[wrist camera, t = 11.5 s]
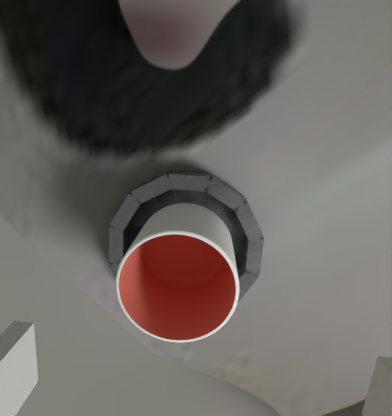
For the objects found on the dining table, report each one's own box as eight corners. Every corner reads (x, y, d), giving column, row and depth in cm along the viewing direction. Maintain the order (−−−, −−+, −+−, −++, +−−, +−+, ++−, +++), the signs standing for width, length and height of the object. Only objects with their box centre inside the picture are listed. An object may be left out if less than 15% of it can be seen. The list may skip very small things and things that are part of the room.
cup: (146, 286, 37) (122, 344, 27) (137, 202, 34) (107, 233, 24) (233, 283, 36) (241, 342, 26) (230, 197, 33) (238, 227, 24)
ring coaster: (116, 166, 34) (108, 169, 31) (266, 176, 33) (271, 181, 31) (116, 299, 38) (109, 312, 35) (250, 310, 38) (253, 324, 35)
